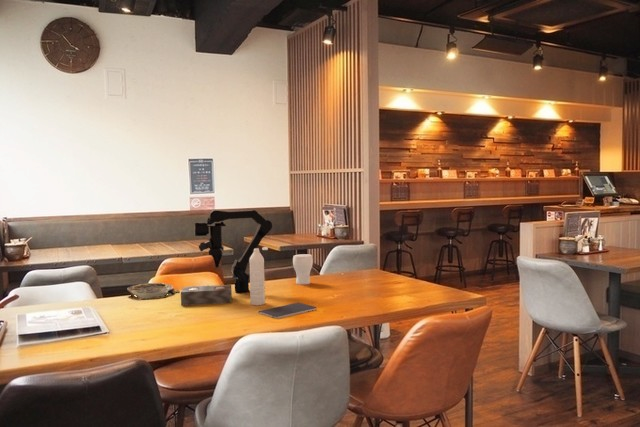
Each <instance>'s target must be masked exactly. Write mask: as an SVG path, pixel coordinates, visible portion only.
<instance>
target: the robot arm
mask: <svg viewBox="0 0 640 427" xmlns="http://www.w3.org/2000/svg"><path fill="white" fill-rule="evenodd" d="M235 219H252V220H253V221H254V222H255V223H257V227H256V230H255V233H254V235H253V237H252V239H251V240H250V242H249V244H248V246H247V247H246V249H245V250H244V252H243V254H242V255H241V257H240V258H239V259H238V260H237V259H234V261H233V264H232V265H231V269H230V270H231V274H232V275H233V276H234V277H235V281H234V292H235V293H236V294H241V293H250V275H249V274H248V273H247V272H246V270H247V267H248V264H249V260H250V257H251V255H252V254H253V252H254V249H255V248H258V246H259V245H260V243H261V242H262V239H263V238H264V237H265V236H266V235H268V233H270V232H271V230H272V229H273V223H272V222H271V220H269V219H266V218H264V216H262V214H259V212H258V211H257V210H255V209H250V210H232V211H227V210H220V209H212V210H211V211H209V214H208V218H207V219H206V220H205V222H197V221H196V222H194V229H193V233H194V237H195V238H197V237H207V236H208V235H209V239H208V241H202V242H200V244H198V249H199V251H200V252H203V251H205V250H208V256H211V257H212V258H213V261H214V266H215V268H219V265H220V263H221V260H222V257H223V254H224V252H223V251H225V250H224V248H225V247H224V245H223V228H222V227H226V226H227V225H226V224H225V223H224V221H226V220H227V221H228V220H235Z"/></svg>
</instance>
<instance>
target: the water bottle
mask: <svg viewBox="0 0 640 427" xmlns="http://www.w3.org/2000/svg"><path fill="white" fill-rule="evenodd" d="M261 249H262V251H268V249H269V247H268V246H267V247H266V246H265V247H264V246H263V247H261ZM248 264H249V293H250V298H249V299H250V302H249V303H250V305H251V306H262V305H265V304H266V291H265V288H266V286H265V285H266V284H265V282H266V281H265V259H264V256H263V255H262V254H261V252H260V248H258V247H257V248H255V249H254V252H253V254H252V255H251V257H250V260H249V261H248Z"/></svg>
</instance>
